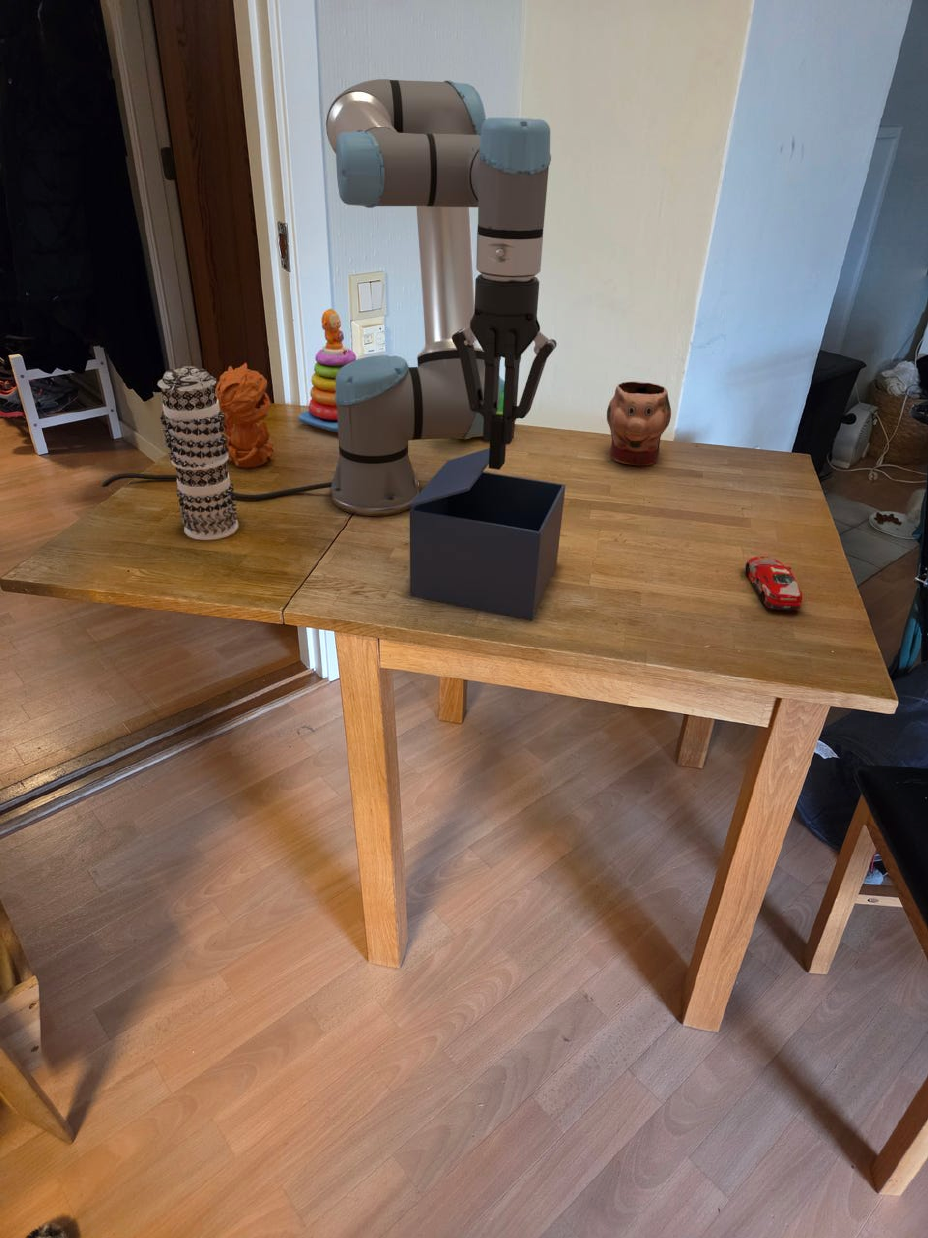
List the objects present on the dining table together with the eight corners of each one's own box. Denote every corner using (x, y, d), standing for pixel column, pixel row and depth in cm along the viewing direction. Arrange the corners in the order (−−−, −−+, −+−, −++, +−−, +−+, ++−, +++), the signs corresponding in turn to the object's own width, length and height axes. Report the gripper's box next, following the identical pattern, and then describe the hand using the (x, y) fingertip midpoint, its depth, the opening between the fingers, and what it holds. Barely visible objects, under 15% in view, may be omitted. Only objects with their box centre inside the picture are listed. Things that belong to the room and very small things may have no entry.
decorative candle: (186, 545, 120) (155, 384, 106) (177, 520, 127) (147, 365, 113) (246, 535, 123) (224, 377, 109) (234, 511, 130) (212, 359, 116)
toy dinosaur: (293, 459, 149) (283, 363, 139) (251, 477, 141) (238, 378, 131) (250, 445, 154) (239, 352, 144) (208, 463, 146) (192, 366, 136)
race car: (740, 566, 120) (746, 544, 118) (776, 568, 120) (782, 545, 118) (763, 613, 109) (770, 589, 107) (802, 616, 109) (810, 591, 107)
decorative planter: (599, 434, 165) (608, 368, 157) (658, 438, 164) (669, 372, 156) (603, 472, 149) (613, 400, 141) (668, 476, 148) (682, 404, 140)
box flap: (410, 507, 102) (409, 504, 102) (448, 463, 115) (447, 460, 115) (468, 490, 98) (467, 487, 98) (501, 446, 111) (500, 444, 111)
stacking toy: (343, 440, 158) (336, 320, 144) (294, 427, 163) (283, 310, 150) (382, 421, 167) (379, 307, 154) (335, 409, 172) (328, 298, 159)
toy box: (410, 596, 110) (409, 510, 103) (445, 545, 123) (447, 465, 115) (532, 620, 106) (540, 533, 98) (556, 565, 119) (565, 484, 111)
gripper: (444, 275, 89) (441, 468, 102) (555, 286, 86) (537, 483, 99) (464, 264, 95) (459, 448, 108) (569, 274, 92) (550, 462, 105)
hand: (496, 464), depth 104 cm, fingers closed
